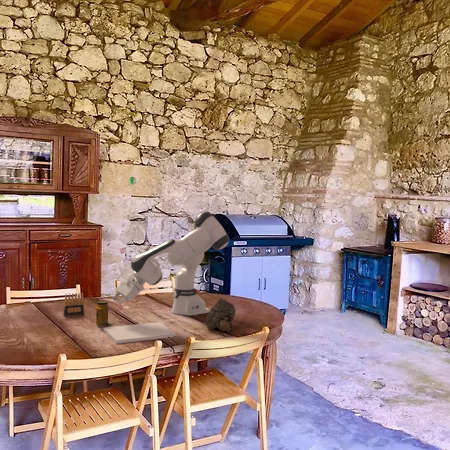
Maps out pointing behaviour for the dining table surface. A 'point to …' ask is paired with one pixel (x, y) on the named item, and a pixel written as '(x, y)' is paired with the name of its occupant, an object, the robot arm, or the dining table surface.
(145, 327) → the tile board
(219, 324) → the rock
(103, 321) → the condiment
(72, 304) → the ammunition clip
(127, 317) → the dining table surface
